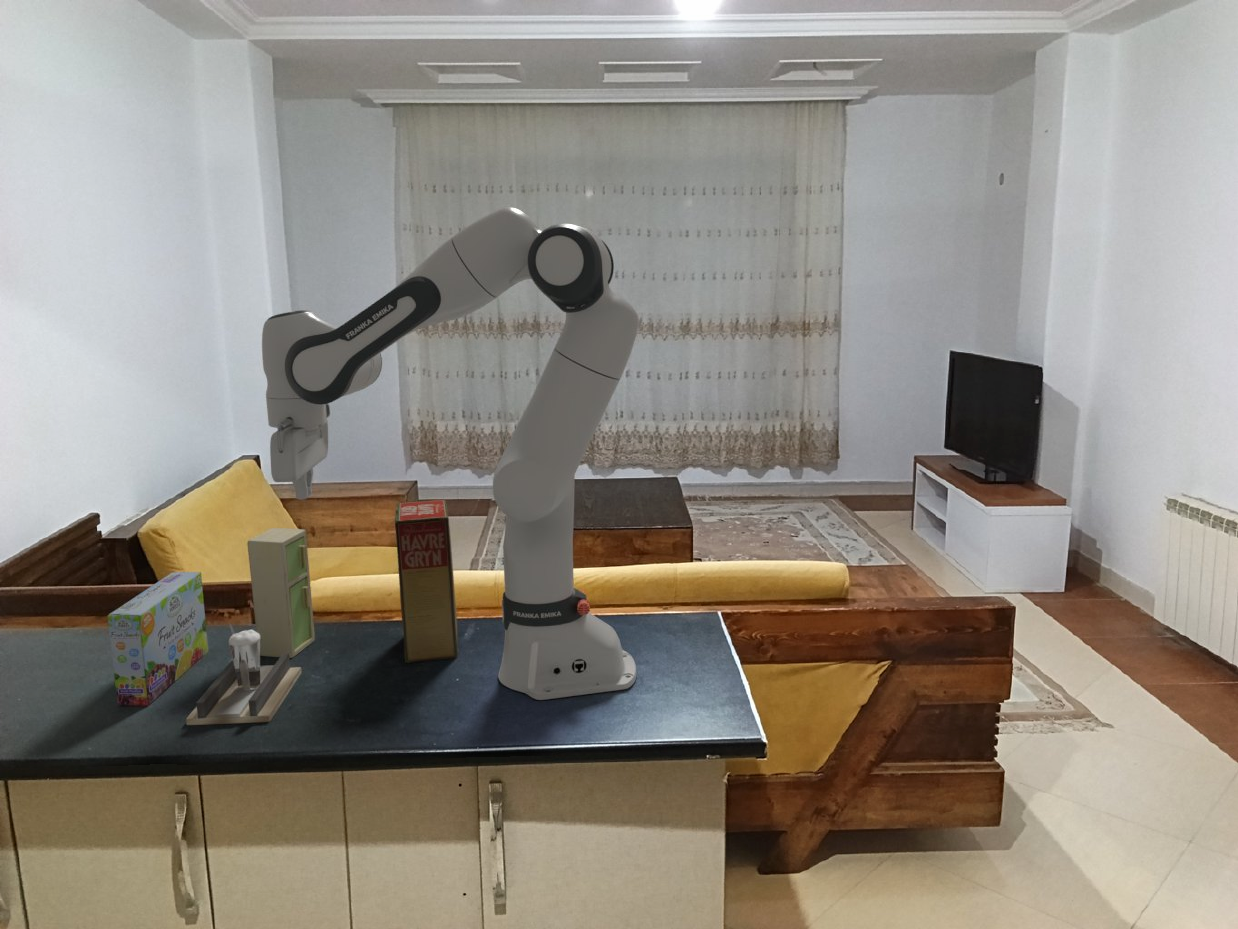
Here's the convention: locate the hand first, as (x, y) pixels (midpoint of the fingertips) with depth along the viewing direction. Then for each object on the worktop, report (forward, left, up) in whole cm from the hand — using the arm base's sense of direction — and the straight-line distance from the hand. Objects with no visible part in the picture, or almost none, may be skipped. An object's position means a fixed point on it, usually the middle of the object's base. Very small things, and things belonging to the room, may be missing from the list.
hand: (304, 497), depth 150 cm
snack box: (+24, +3, -29) cm, 38 cm away
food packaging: (-18, -6, -29) cm, 35 cm away
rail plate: (+8, +12, -29) cm, 32 cm away
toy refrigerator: (+7, -7, -29) cm, 31 cm away
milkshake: (+8, +11, -28) cm, 31 cm away
